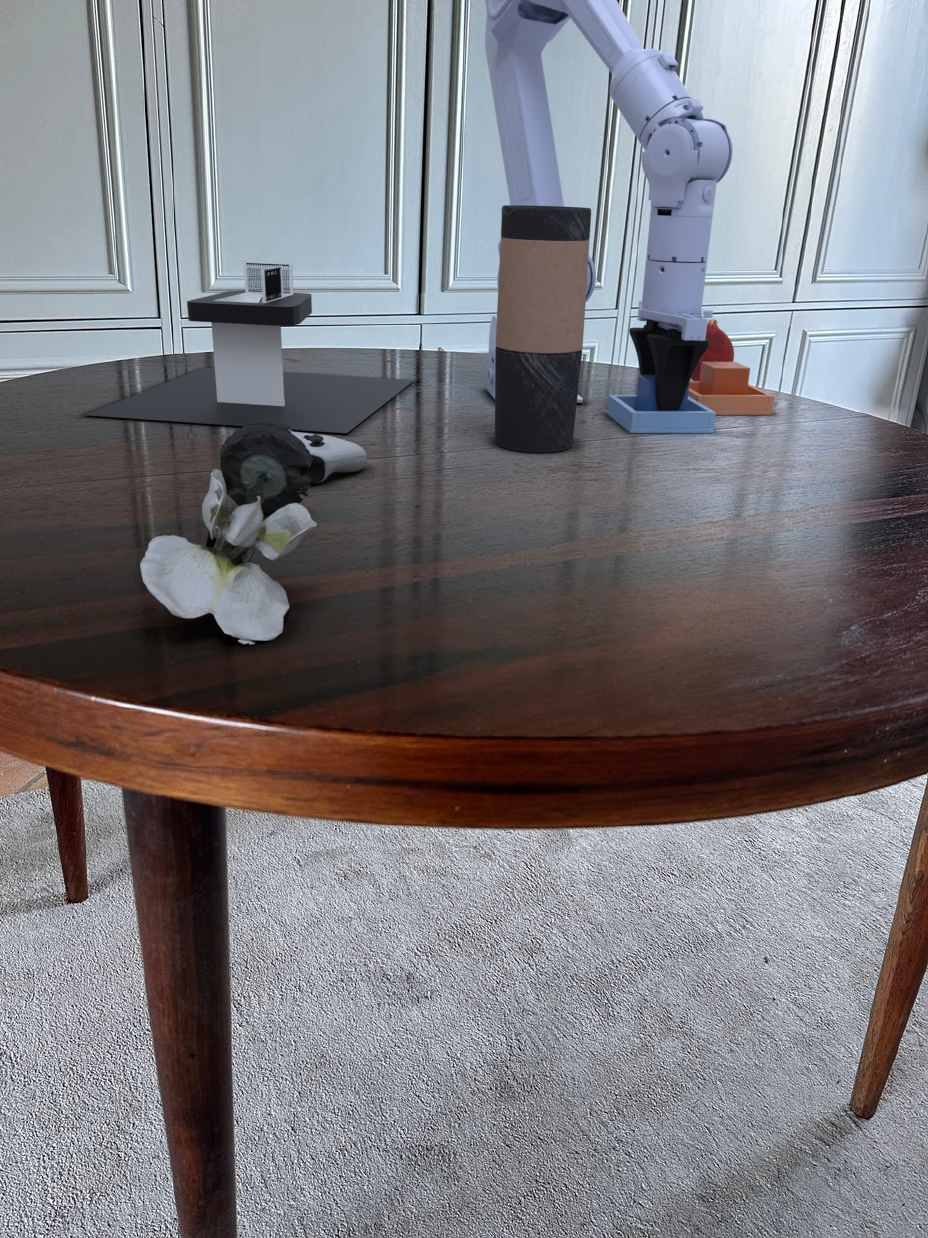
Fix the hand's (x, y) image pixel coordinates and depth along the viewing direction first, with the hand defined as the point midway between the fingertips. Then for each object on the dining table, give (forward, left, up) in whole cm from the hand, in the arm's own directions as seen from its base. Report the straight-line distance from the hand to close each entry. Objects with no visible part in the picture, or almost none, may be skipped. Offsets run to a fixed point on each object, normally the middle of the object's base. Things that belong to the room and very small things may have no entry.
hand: (661, 404), depth 99 cm
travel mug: (-15, -8, -2) cm, 17 cm away
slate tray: (0, 0, -2) cm, 2 cm away
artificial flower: (-38, -39, -2) cm, 54 cm away
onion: (+11, +18, -2) cm, 21 cm away
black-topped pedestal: (-40, +13, -2) cm, 42 cm away
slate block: (0, 0, -1) cm, 1 cm away
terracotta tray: (+9, +8, -2) cm, 13 cm away
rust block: (+10, +8, -1) cm, 12 cm away
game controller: (-36, -17, -2) cm, 39 cm away
